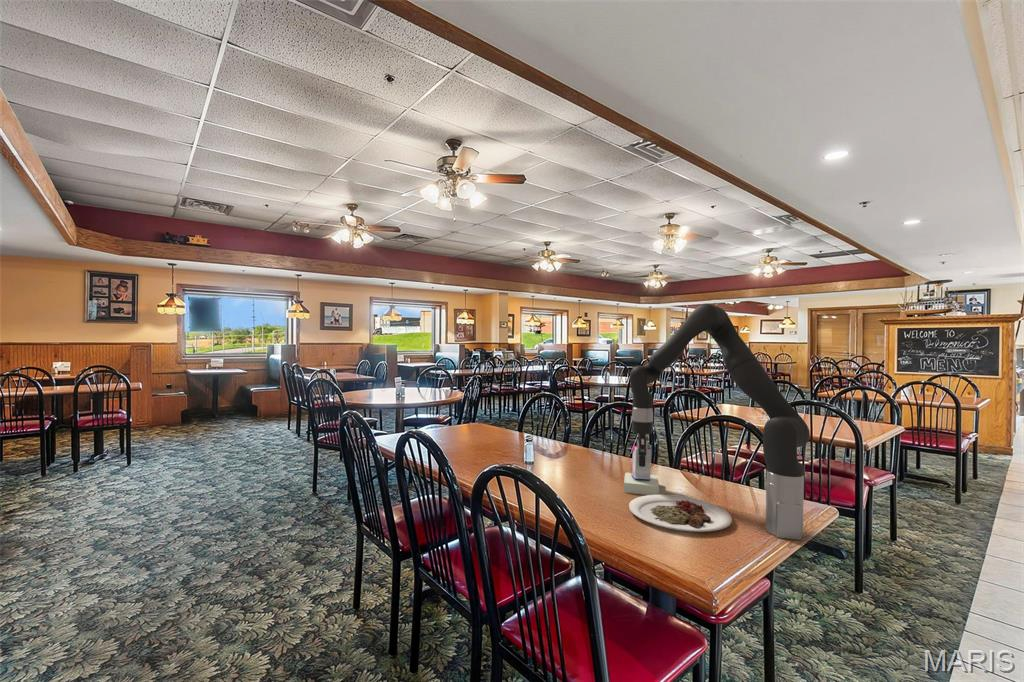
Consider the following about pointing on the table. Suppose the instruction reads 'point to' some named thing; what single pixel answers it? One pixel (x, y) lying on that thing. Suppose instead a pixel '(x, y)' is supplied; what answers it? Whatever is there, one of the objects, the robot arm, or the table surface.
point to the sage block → (641, 485)
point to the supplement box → (637, 470)
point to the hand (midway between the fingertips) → (641, 463)
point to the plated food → (680, 513)
